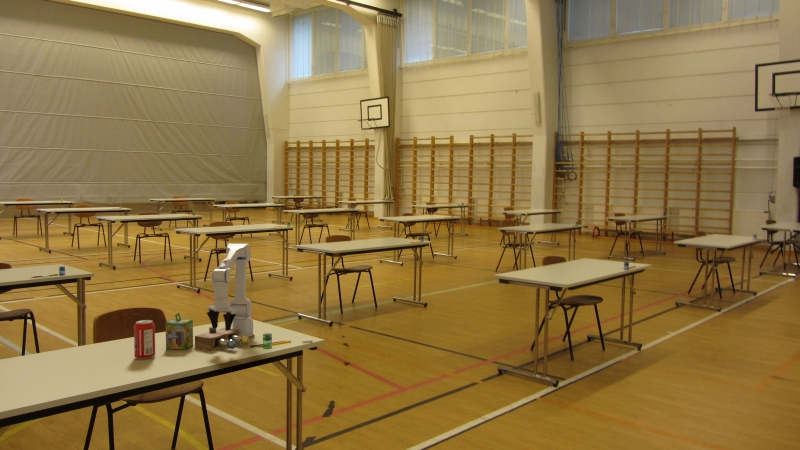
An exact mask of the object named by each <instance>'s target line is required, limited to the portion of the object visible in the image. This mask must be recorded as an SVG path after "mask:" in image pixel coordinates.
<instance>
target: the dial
mask: <svg viewBox="0 0 800 450" xmlns="http://www.w3.org/2000/svg"><path fill="white" fill-rule="evenodd" d="M216 330H217V328H213V327H212V326H211V327H209V328H208V332H209V333H215V332H216Z"/></svg>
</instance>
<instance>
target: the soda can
mask: <svg viewBox="0 0 800 450" xmlns="http://www.w3.org/2000/svg"><path fill="white" fill-rule="evenodd" d="M133 341H134V342H133V345H134V348H133V349H134V350H133V351H134V352H133V353H134V358H135V359H137V360H139V361H140V360H141V361H142V360H149V359H153V357H155V356H156V325H155V323H154V320H151V319H142V320H138V321H135V324H134V326H133Z"/></svg>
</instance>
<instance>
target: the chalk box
mask: <svg viewBox="0 0 800 450" xmlns="http://www.w3.org/2000/svg"><path fill="white" fill-rule="evenodd" d="M174 317H175V319H171V320H169V321H167V322H165V323H164V324H165V350H187V349H189V348H191V347H192V346H194V321H193V319H185V318H181V315H180V313H179V312H177V313H176V314H174Z"/></svg>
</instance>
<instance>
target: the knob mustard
mask: <svg viewBox="0 0 800 450" xmlns="http://www.w3.org/2000/svg"><path fill="white" fill-rule="evenodd" d="M230 339H231V340H235V341H236V342H237V343H239V344H241V345H244V346H246V345H249V343H250V337H248V336H235V335H228V340H230Z"/></svg>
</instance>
